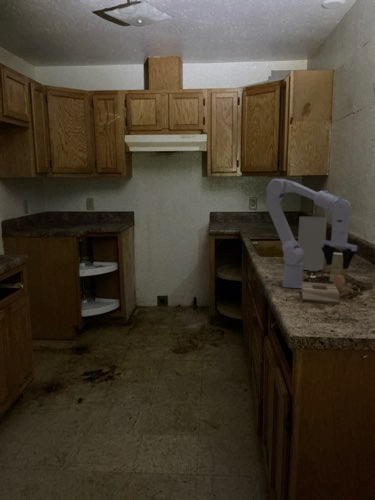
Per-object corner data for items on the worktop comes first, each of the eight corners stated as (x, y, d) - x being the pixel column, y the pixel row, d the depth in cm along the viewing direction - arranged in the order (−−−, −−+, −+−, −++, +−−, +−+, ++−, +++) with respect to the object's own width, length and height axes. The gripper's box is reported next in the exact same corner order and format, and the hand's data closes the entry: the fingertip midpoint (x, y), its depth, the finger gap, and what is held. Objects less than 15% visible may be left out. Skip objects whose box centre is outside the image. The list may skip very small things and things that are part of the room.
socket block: (301, 292, 147) (301, 282, 146) (334, 294, 144) (334, 284, 144) (302, 301, 136) (303, 290, 135) (338, 304, 133) (339, 293, 132)
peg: (332, 289, 152) (333, 274, 150) (341, 289, 151) (342, 275, 150) (333, 291, 148) (334, 276, 147) (342, 292, 147) (344, 277, 146)
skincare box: (329, 281, 163) (331, 253, 160) (329, 279, 167) (331, 252, 164) (345, 283, 160) (348, 254, 158) (345, 281, 164) (347, 253, 162)
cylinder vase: (328, 270, 183) (332, 218, 179) (307, 272, 179) (311, 219, 174) (311, 265, 195) (314, 216, 190) (291, 267, 190) (294, 216, 186)
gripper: (317, 230, 148) (315, 264, 151) (349, 234, 136) (346, 271, 138) (329, 228, 152) (327, 262, 154) (362, 233, 139) (358, 269, 142)
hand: (337, 266), depth 146 cm, fingers open, 7 cm apart
